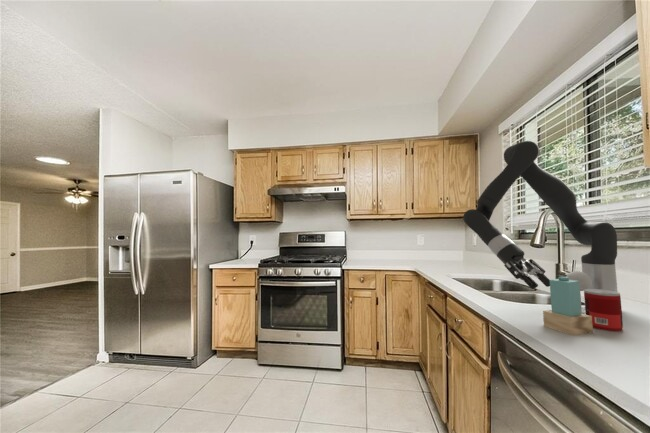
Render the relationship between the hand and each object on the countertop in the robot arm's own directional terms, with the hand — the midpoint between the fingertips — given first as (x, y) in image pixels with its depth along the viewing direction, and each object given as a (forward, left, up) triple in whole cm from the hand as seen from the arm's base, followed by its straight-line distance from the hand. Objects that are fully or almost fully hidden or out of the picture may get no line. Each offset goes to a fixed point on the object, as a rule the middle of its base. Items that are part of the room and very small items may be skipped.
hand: (543, 286), depth 88 cm
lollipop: (-25, -1, -12) cm, 28 cm away
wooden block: (0, +6, -12) cm, 14 cm away
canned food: (-12, +10, -12) cm, 20 cm away
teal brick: (0, +6, -7) cm, 9 cm away
